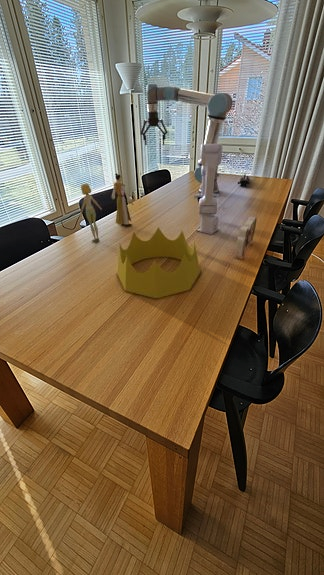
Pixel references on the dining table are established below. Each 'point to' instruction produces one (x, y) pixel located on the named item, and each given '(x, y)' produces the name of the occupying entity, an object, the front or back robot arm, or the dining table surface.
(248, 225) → the cutout
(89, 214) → the sculpture
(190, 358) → the dining table surface
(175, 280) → the crown
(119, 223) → the figurine
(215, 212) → the front robot arm
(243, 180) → the toy
